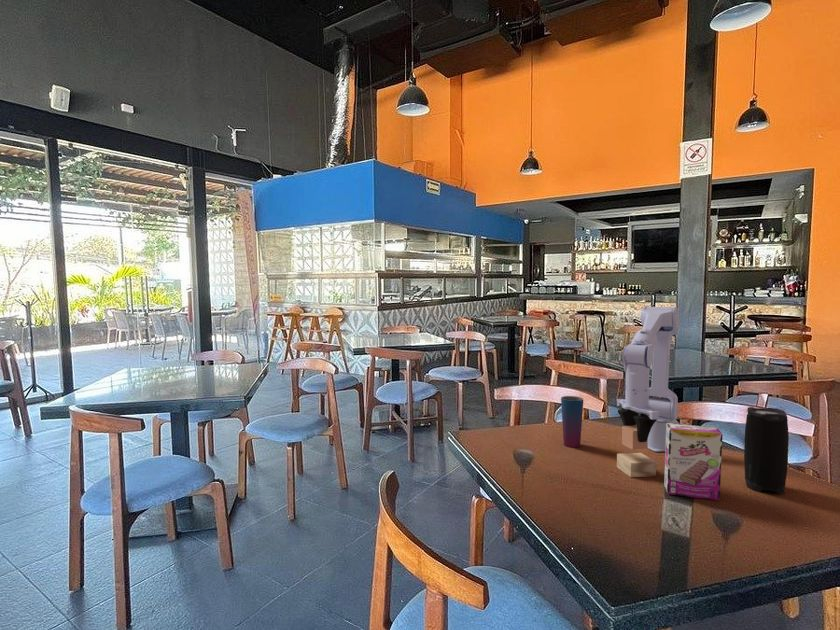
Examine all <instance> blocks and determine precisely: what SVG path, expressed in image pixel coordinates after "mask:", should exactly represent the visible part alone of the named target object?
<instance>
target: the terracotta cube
mask: <svg viewBox="0 0 840 630" xmlns="http://www.w3.org/2000/svg"><path fill="white" fill-rule="evenodd" d="M621 445H623V446H625V447H627V448H629V449H630V450H644V449H649V448H648V439H647V442H639V441H638V436H637V426H636V425H630V426H624V425H622V426H621Z"/></svg>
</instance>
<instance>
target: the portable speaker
mask: <svg viewBox="0 0 840 630" xmlns="http://www.w3.org/2000/svg"><path fill="white" fill-rule="evenodd" d="M789 438H790V437H789V421H788V414H787V413H786V412H785V410H783V409H780V408H774V407H761V408H760V407H754V406H749V407H747V414H746V420H745V427H744V444H743V445H744V446H743V447H744V451H743V453H744V454H743V461H744V463H743V466H744V468H743V469H744V480H745V484H746V487H747V488H749V489H750V490H752V491H756V492H761V491H762V490H763V491H771V492H774V493H775V494H776V495H782V494H785V492H786V491H785V490H786V482H787V476H788V475H787V474H788V466H789V465H788V464H789V440H790V439H789Z"/></svg>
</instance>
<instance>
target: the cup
mask: <svg viewBox="0 0 840 630" xmlns="http://www.w3.org/2000/svg"><path fill="white" fill-rule="evenodd" d="M560 401H561V402H560V404H561V405H560V406H561V420H562V421H561V422H562V437H563V440H562V441H563V445H564V446H565V447H568V448H569V447H570V448H579V447H580V446H581V439H582V425H583V412H584V411H583V410H584V398H583V397H581V396H576V395H575V396H574V395H562V396H561V397H560Z"/></svg>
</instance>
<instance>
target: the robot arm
mask: <svg viewBox="0 0 840 630" xmlns="http://www.w3.org/2000/svg"><path fill="white" fill-rule="evenodd" d="M640 323H641V325H642V328H641V329H639V330H638V331H636V332H635V334H634V336H633V338H632V340H631V342H630V344H627V345H625V346H624V348H623V350H622V363H623V370H624V372H625V392H624V393H625V398H616V406H617V407H621V409H620V408H619V409H618V410H617V413H618V415H619V417H620V418H621V420H622V425H623V426H630V425H636V426H637V436H638V441H639V442H647V439H648V448H647V449H649V450H651V451H653V452H655V453H659V452H665V445H666V423H671V424H680V423H679V421H678V420H677V418H678V414H679V402H678V399H679V398H678V396H677V394H676V393H675V392H674V391H672V390H671V389H669V377H670V375H669V374H670V361H671V360H670V356H671V355H670V354H671V344H672V343H671V341H672V338H673V336H675V335H677V334H679V330H680V309H679V308H678V307H677V306H671V307H670V306H643V307H642V308H641V311H640ZM651 367H652V368H651ZM650 368H651V386H650Z"/></svg>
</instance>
